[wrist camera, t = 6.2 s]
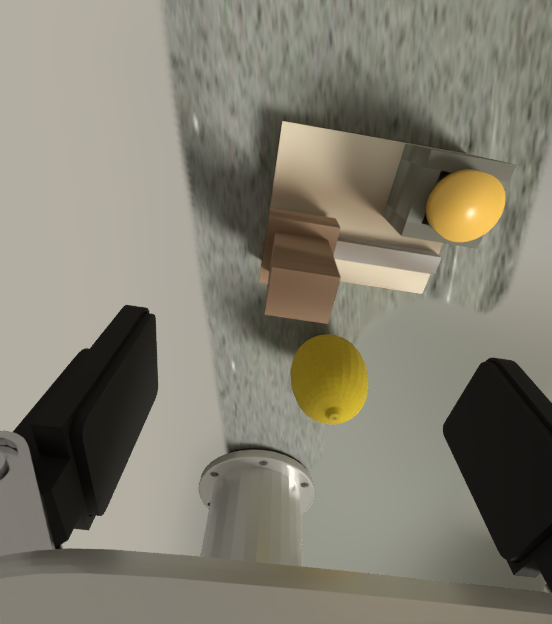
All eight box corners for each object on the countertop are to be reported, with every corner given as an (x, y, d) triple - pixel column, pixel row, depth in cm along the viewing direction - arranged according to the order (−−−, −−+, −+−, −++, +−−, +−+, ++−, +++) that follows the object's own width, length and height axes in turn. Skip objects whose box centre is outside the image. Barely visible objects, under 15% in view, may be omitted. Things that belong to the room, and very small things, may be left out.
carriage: (320, 273, 23) (334, 339, 16) (261, 264, 23) (251, 327, 16) (334, 214, 21) (357, 262, 14) (270, 204, 21) (263, 247, 14)
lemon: (276, 338, 28) (273, 411, 21) (333, 303, 26) (350, 370, 20) (314, 380, 30) (322, 458, 23) (369, 349, 29) (395, 425, 22)
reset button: (444, 219, 21) (485, 247, 17) (394, 211, 21) (422, 236, 17) (467, 164, 20) (518, 178, 15) (413, 155, 19) (449, 166, 15)
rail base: (415, 284, 25) (444, 323, 21) (262, 260, 25) (256, 295, 20) (467, 153, 21) (520, 165, 16) (282, 120, 20) (281, 122, 16)
